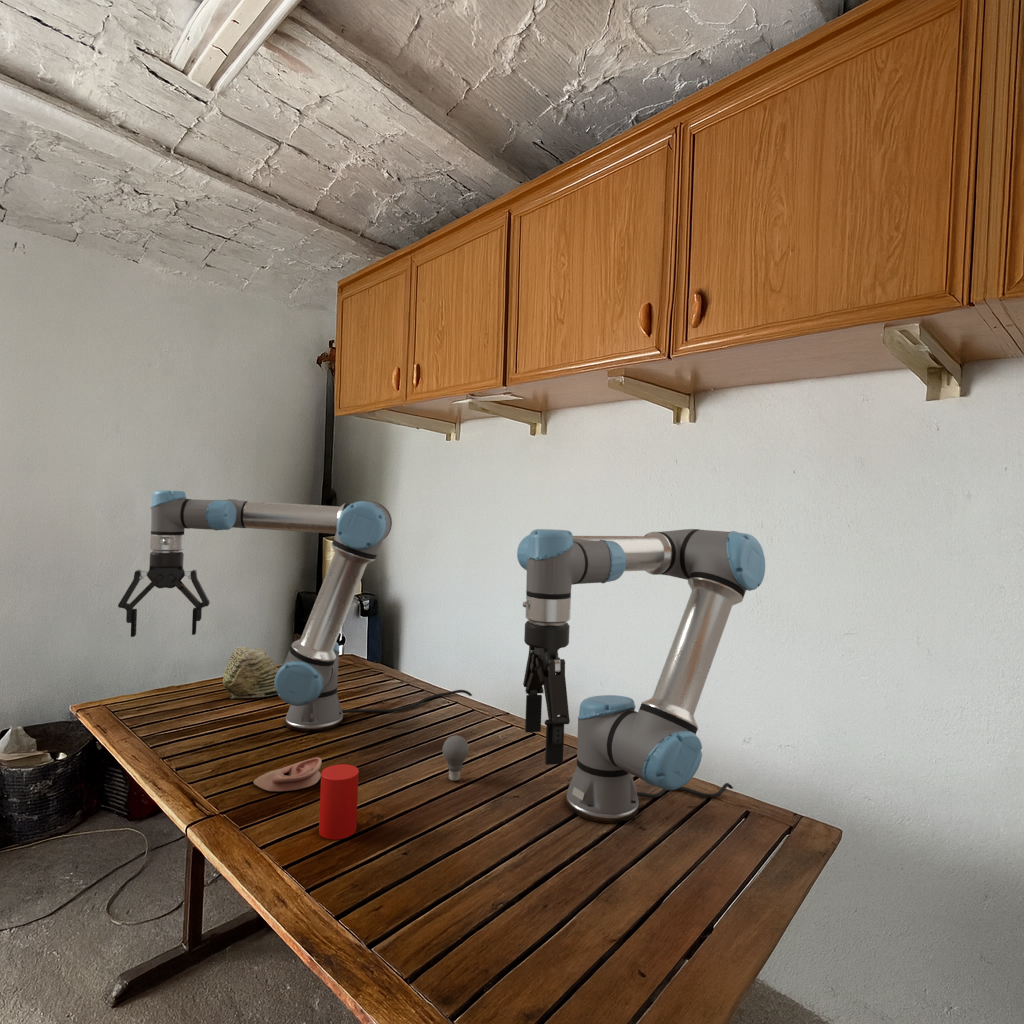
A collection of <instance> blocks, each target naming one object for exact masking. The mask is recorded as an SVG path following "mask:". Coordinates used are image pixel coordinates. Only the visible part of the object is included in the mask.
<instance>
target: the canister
mask: <svg viewBox="0 0 1024 1024" xmlns="http://www.w3.org/2000/svg"><path fill="white" fill-rule="evenodd" d="M320 773H321V777H320V794H319V795H320V797H319V798H320V799H319V818H318V819H319V820H318V821H319V822H318V833H319V836H320V837H322V838H323V839H327V840H332V841H333V840H334V841H337V840H343V839H346V838H349V837H351V836H353V834H355V833H356V831H357V829H358V828H357V827H358V826H357V824H358V800H359V799H358V798H359V775H360V774H359V773H360V769H358V767H357V766H354V765H352V764H345V763H344V764H343V763H342V764H341V763H339V764H333V765H329V766H327V767H325V768H324V769H323V770H321V772H320Z"/></svg>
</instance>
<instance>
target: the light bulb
mask: <svg viewBox="0 0 1024 1024" xmlns="http://www.w3.org/2000/svg"><path fill="white" fill-rule="evenodd" d="M469 752H470V746H469V743H468V742H467V740H466V739H465V738H464V737H463V736H461V735H457V734H456V735H455V734H454V735H451V736H449V737H448V738H447V739H446V740H445V741H444V743H443V745H442V755H443V757H444V760H445V761H446V764H447V769H448V779H449V780H450V781H453V782H456V781H458V780H460V779H461V770H462V768H463V764H464V762H465V760H466V759H467V758H468V756H469Z"/></svg>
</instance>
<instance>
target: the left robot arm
mask: <svg viewBox="0 0 1024 1024" xmlns="http://www.w3.org/2000/svg"><path fill="white" fill-rule="evenodd" d="M150 510H151V511H150V512H151V513H150V514H151V515H150V539H149V540H150V542H149V543H150V544H149V550H151V551H150V553H149V565H148V567H149V568H148V570H147V571H146V570H141V569H137V570H135V571H134V574H133V579H132V580H131V583H130V585H129V586H128V588H127V590H126V591H125V593H124V594H123V595H122V598H121V599H120V601H119V602H118V605H117V607H118V608H119V609H123V610H125V611H126V616H125V617H126V618H125V619H126V620H125V622H126V623H127V624H130V638H134V637H136V636H137V619H138V608H134V607H136V606H137V605H138V604H139V603H140V601H142V600H143V598H144V597H145V596H146V595H147V594H149V592H151V590H152V589H154V588H157V589H174V588H176V589H178V591H180V592H181V594H183V595H184V597H185V598H187V601H189V602H190V603H191V604H192V605H193V606H194V607H193V609H192V619H191V620H192V621H191V622H192V623H191V636H195V635H196V634H197V622H201V620H202V613H203V608H205V607H208V606H209V605H210V602H211V601H210V600H209V598H208V596H207V594H206V592H205V590H204V588H203V587H202V584H201V582H200V581H199V578H198V573H197V572H198V571H197V570H196V569H192V570H187V571H186V570H185V569H184V555H185V554H184V552H183V550H184V549H185V529H189V530H190V529H192V530H194V529H195V530H211V531H212V530H213V531H228V530H230V529H233V528H235V529H254V530H268V531H269V530H271V531H285V532H286V531H287V532H301V533H303V532H304V533H317V534H333V535H334V537H333V540H332V542H331V547H332V548H333V551H334V553H333V556H332V559H331V562H330V564H329V566H328V569H327V571H326V574H325V576H324V578H323V581H322V583H321V587H320V589H319V591H318V594H317V596H316V599H315V601H314V604H313V607H312V609H311V612H310V614H309V616H308V619H307V622H306V624H305V626H304V629H303V632H302V634H301V637H300V639H297V640H295V641H293V642H292V644H291V646H290V648H289V650H288V653H287V655H286V658H285V660H284V663H283V664H282V665H281V666H280V667H279V668H278V669H279V670H278V671H277V674H276V676H275V681H274V684H275V690H276V692H277V694H276V695H277V696H278V697H279V698H280V699H281V700H282V701H283V702H284V703H286V704H288V705H289V708H288V711H287V713H286V715H285V726H286V728H287V729H289V730H291V731H294V732H295V731H296V732H301V733H316V732H325V731H329V730H332V729H335V728H337V727H339V726H340V725H342V723H343V722H344V714H353V713H355V714H356V713H358V714H359V713H361V714H362V713H394V712H402V711H406V710H409V709H412V708H415V707H417V706H420V705H421V704H423V703H425V702H426V701H429V700H433V699H435V698H439V697H445V696H450V695H454V694H455V695H456V694H466V695H467V696H469V697H472V696H473V694H472V693H471V691H468V690H465V689H456V690H451V691H446V692H441V693H435V694H432V695H429V696H426V697H423V698H422V699H420V700H419V701H417V702H414V703H411V704H408V705H406V706H402V707H396V708H383V709H382V708H365V709H364V708H363V709H361V708H358V709H357V708H354V709H353V708H352V709H342V706H341V702H340V699H339V695H338V682H339V681H338V680H339V678H338V677H339V660H340V659H339V657H340V645H339V643H338V642H337V640H338V639H339V636H340V632H341V630H342V628H343V626H344V622H345V620H346V618H347V615H348V613H349V610H350V607H351V606H352V604H353V601H354V598H355V595H356V593H357V590H358V587H359V585H360V582H361V580H362V578H363V575H364V574H365V573H364V572H365V570H366V568H367V565H368V564H369V563H372V562H374V561H376V558H377V556H378V553H379V551H380V548H381V546H382V543H383V542H384V540H385V539H387V537H388V536H389V534H390V532H391V531H392V526H393V520H392V516H391V513H390V512H389V510H388V509H387V508H386V507H385V505H382V504H381V503H379V502H376V501H367V500H361V501H360V500H358V501H355V502H352V503H346V502H345V503H343V504H341V506H337V505H320V504H306V503H305V504H304V503H303V504H301V503H289V502H272V501H271V502H270V501H256V500H255V501H254V500H238V499H234V498H233V499H192V498H187V495H186V492H185V491H183V490H166V489H165V490H164V489H163V490H162V489H158V490H157V489H156V490H155V491H154V492H153V493H152V497H151V506H150ZM145 577H147V578H148V579H149V581H150V582H149V584H147V586H146V587H145V588H144V589H142V591H141V592H140V593H139V594H138V595H137V596H136V597H135V598H134V599H133V600H132V601H130V603H128V601H129V600H130V598H131V597H132V594H133V593H134V591H135V590H136V588H137V587H138V584H139V583H140V581H141V580H144V578H145ZM184 577H187V579H188V580H190V581H191V583H192V585H193V587H194V589H195V591H196V592H197V594H198V596H199V599H200V600H201V601H200V600H199V599H198V598H197V596H195V595H194V594H193V592H191V590H189V588H188V587H187V586H186V585H185V583H183V581H182V580H183V578H184Z"/></svg>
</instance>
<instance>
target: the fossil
mask: <svg viewBox="0 0 1024 1024" xmlns="http://www.w3.org/2000/svg"><path fill="white" fill-rule="evenodd" d="M278 670H279V668H278V667H277V665H276V663H275V662H274V660H273V659H272V658H271V657H270V656H269V655H268V654H267V653H266V652H265V650H264V649H263V648H260V647H258V648H251V647H247V646H246V647H245V646H238V647H237V648H236V649H235V650H233V651H232V653H231V656H230V657H229V659H228V660H227V663H226V666H225V668H224V671H223V675H222V676H223V677H222V685H223V687H224V688H225V690H226V691H228V693H229V698H230V699H250V698H264V697H271V696H275V695H278V694H277V692H276V690H275V684H274V681H275V676H276V674H277V671H278Z"/></svg>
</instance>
